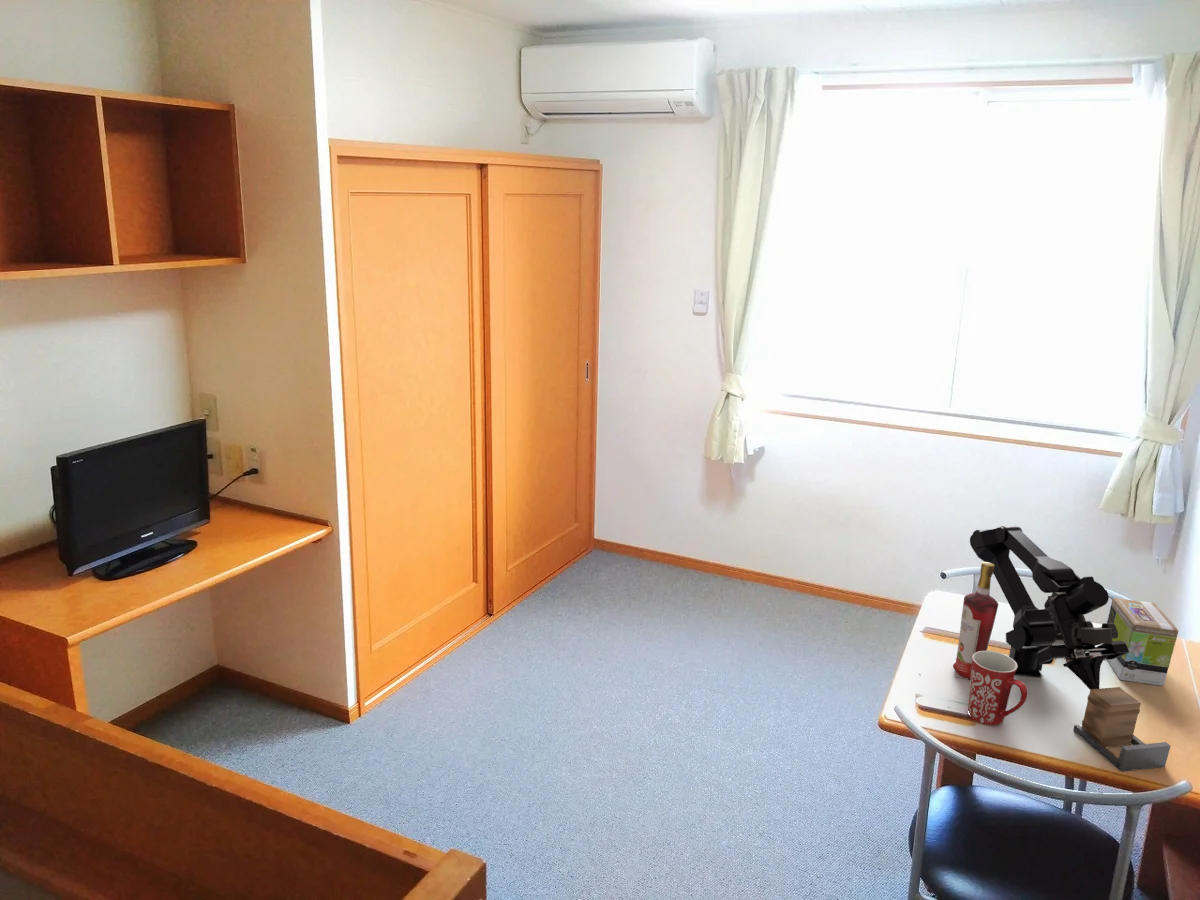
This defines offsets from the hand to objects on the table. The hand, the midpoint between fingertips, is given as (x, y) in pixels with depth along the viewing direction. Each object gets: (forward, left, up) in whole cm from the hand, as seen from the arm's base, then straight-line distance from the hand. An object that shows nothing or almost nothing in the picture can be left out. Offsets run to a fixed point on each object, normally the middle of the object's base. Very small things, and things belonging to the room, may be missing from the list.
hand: (1096, 692), depth 193 cm
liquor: (-21, +16, -8) cm, 28 cm away
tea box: (+20, +27, -8) cm, 35 cm away
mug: (-21, -3, -8) cm, 23 cm away
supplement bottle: (+7, +41, -8) cm, 43 cm away
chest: (+2, -5, -8) cm, 9 cm away
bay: (+3, -8, -8) cm, 11 cm away
